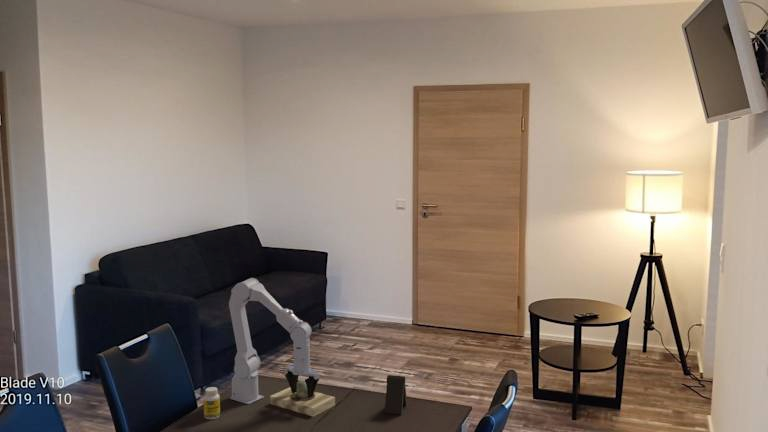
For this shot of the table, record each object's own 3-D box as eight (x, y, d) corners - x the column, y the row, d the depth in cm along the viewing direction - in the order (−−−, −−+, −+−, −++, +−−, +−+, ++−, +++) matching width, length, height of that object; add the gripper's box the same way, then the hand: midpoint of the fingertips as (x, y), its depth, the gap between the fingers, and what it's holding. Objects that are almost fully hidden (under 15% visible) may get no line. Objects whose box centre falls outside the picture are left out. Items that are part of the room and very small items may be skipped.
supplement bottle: (206, 421, 225) (205, 392, 224) (202, 415, 230) (201, 387, 229) (222, 417, 228) (221, 390, 227) (218, 412, 233) (217, 385, 232)
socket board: (270, 404, 240) (270, 395, 239) (293, 393, 249) (292, 385, 249) (313, 416, 228) (313, 407, 228) (335, 405, 238) (335, 396, 238)
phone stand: (401, 415, 229) (401, 381, 228) (384, 413, 231) (384, 379, 229) (407, 405, 238) (407, 372, 237) (391, 403, 239) (390, 371, 238)
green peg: (294, 405, 238) (294, 383, 237) (302, 401, 242) (301, 380, 241) (303, 407, 236) (302, 385, 235) (310, 404, 239) (310, 382, 238)
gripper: (278, 357, 238) (279, 393, 239) (310, 364, 230) (310, 402, 231) (292, 351, 243) (293, 387, 245) (323, 358, 235) (323, 396, 237)
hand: (302, 394), depth 238 cm, fingers open, 7 cm apart
